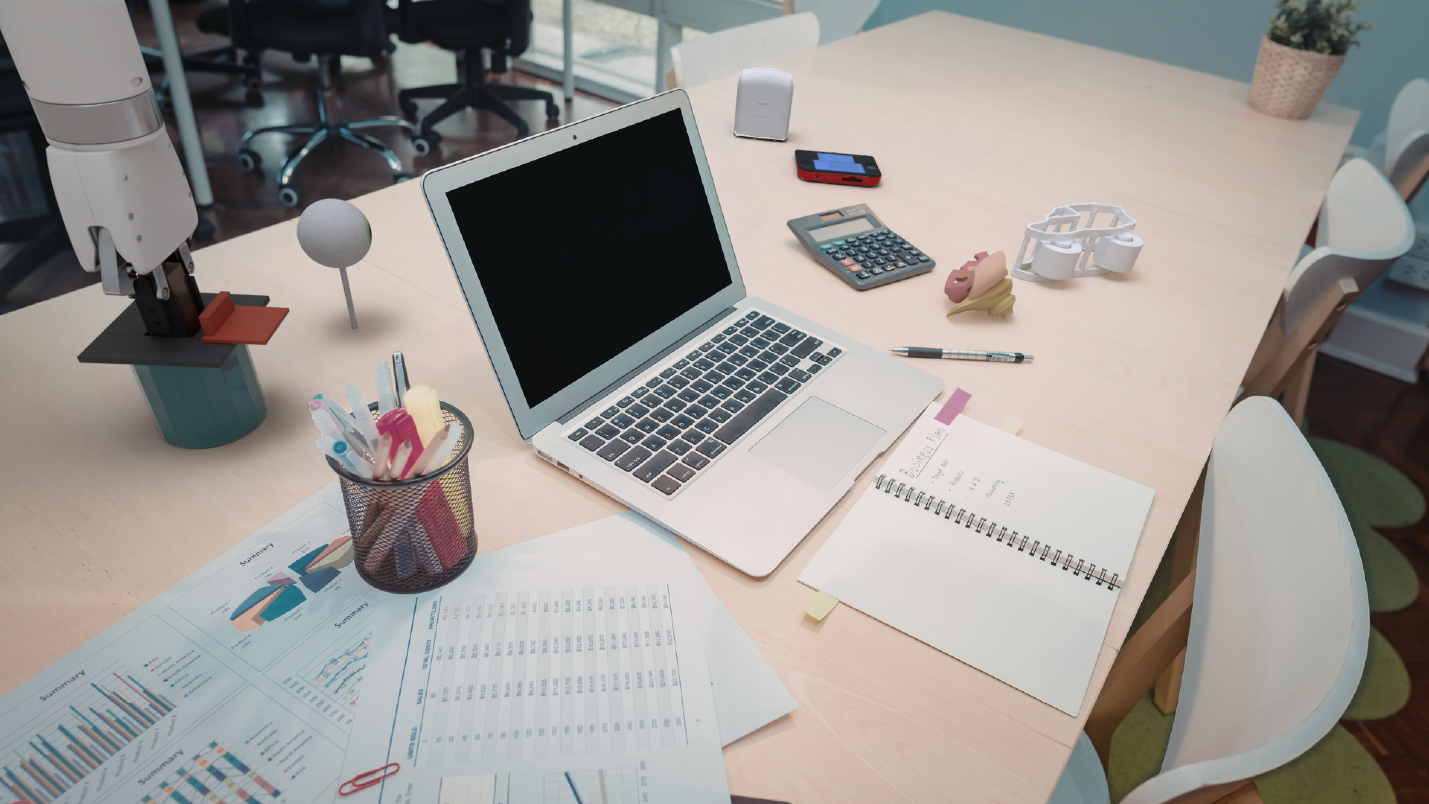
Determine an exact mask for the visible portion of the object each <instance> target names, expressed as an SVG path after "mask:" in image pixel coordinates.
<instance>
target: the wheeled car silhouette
mask: <svg viewBox="0 0 1429 804" xmlns="http://www.w3.org/2000/svg"><path fill="white" fill-rule="evenodd" d="M1082 212H1090V215H1089V216H1088V219H1087V222H1086V225H1085V227H1084V228H1078V229H1077V227H1078V224H1079V222H1080V219H1081V216H1082V214H1081V213H1082ZM1098 213H1100V214H1114V215H1113V217H1112V220H1111V222H1110V224H1109V227H1099V228H1098V227H1096V228H1095V227H1093V225H1094V222H1095V220H1096V217H1097V214H1098ZM1119 220H1120V222H1122V225H1119V226H1117V225H1118V223H1119ZM1137 223H1138V220H1136V219H1135V218H1133V217H1131V216H1130V215H1129V213H1127V212H1126V211H1125V208H1124V207H1123V206H1120V205H1116V204H1103V203H1101V202H1081V203H1069V204H1068V203H1067V204H1062V205H1061V206H1055V207H1052V208H1051V210H1050V211H1049V212H1047V213H1046V214H1045V215H1044V218H1043V220H1041V221H1034V222H1029V223H1028V224H1027V225H1026V226H1025V230H1024V233H1023V234H1024V237H1023V241H1022V243H1021V246H1020V248H1019V251H1018V255H1017V257H1016V261H1015V263H1014V264H1013V267H1012V269H1011V272H1010V275H1011V276H1012V277H1014V278H1017V279H1020V280H1023V281H1025V282H1031V283H1032V282H1033V283H1049V282H1056V281H1064V280H1065V281H1066V280H1069V279H1070V278H1084V277H1097V276H1102V275H1105V274H1107V273H1109V272H1114V273H1128V272H1131V271H1132V270H1133V268H1134V267H1135V264H1136V262H1137V259H1138V257H1139V255H1140V253H1141V250H1142V248H1143V247H1144V244H1145V241H1144V240H1143V238H1141V236H1139V235H1138V234H1135V233H1133V231H1134V230H1135V228H1136V226H1137ZM1067 224H1070V226H1069V229H1068V231H1065V232H1060V231H1061V228H1062V226H1063V225H1067ZM1049 226H1054V229H1053V232H1051V231H1050V232H1049V231H1047V229H1048V227H1049ZM1092 227H1093V228H1092ZM1088 238H1089V239H1088ZM1097 238H1099V240H1098V242H1096V241H1097ZM1031 239H1035V240H1036V241H1035V243H1034V246H1033V249H1032V252H1031V255H1030V257H1029V260H1028V261H1024V257H1025V255H1026V252H1027V249H1028V248H1029V247H1028V246H1029V243H1030V242H1031V241H1030V240H1031ZM1077 239H1080V240H1077ZM1087 239H1088V242H1087ZM1082 251H1084V253H1083V254H1082ZM1092 252H1093V254H1092V256H1091V253H1092ZM1081 254H1082V257H1081V260H1080V261H1079V259H1080V256H1081ZM1090 256H1091V260H1092V262H1093V263H1094V264H1095V265H1097V267H1086V265H1087V263H1088V260H1089V258H1090ZM1023 261H1024V262H1023ZM1078 261H1079V265H1078V267H1077V268H1076V266H1077V264H1078ZM1030 269H1031V270H1032V271H1033V272H1031V271H1028V270H1030Z"/></svg>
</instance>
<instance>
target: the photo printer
mask: <svg viewBox="0 0 1429 804" xmlns="http://www.w3.org/2000/svg"><path fill="white" fill-rule="evenodd" d="M794 85H795V84H794V81H793V75H792V74H790V73H788V72H787V71H784V70H780V69H776V68H773V67H751V68H746V69H743V70H741V73H740V76H739V78H738V82H737V89H736V97H735V98H736V100H735V111H734V123H733V124H734V125H733V132H734V131H736V133H738V134H744V135H750V136H755V137H769V138H775V139H785V138H786V137H789V129H790V122H791V114H792V106H793V96H794V90H795V86H794Z"/></svg>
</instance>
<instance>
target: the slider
mask: <svg viewBox="0 0 1429 804" xmlns="http://www.w3.org/2000/svg"><path fill="white" fill-rule="evenodd" d="M218 293H219V294H218V295H217V296H216V297H215V298H214V299H213V301H212V302H211V303H210V304H209V305H208V306H207V307H206V309H205V310H204V311H203V312H202V313H201V314H200V316H199V317H198V318H199V321H200V323H201V326H202V329H203V332H204V334H205V335H204V336H203V337H202V342H203V343H227V344H248V345H252V346H253V345H254V346H267V344H268V343H269V342H270V340H271V339H272V337H273V336H274V334H275V333H276V332H277V330H278V329H279V327H280V326H281V325H282V323H283V322H284V321H285V319H286V317H287V316H288V314H289V313H290V311H291V310H290V308H289V307H281V306H280V307H279V306H266V307H261V306H239V305H234V304H233V300H232V297H231V294H232V293H231V292H230V291H229V290H228V291H226V290H220V291H219V292H218Z"/></svg>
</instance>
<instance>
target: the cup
mask: <svg viewBox="0 0 1429 804" xmlns="http://www.w3.org/2000/svg"><path fill="white" fill-rule="evenodd" d="M129 368H130V370H131V372H132V375H133V377H134V379H135V382H136V383H137V387H138V388H139V391H140V393H141V395H142V398H143V400H144V402H145V404H146V407H147V409H148V411H149V414H150V416H151V419H152V421H153V423H154V425H155V428H156V430H157V432H158V433H159V435H160V436H161V438H162V440H164V441H165V442H167V443H168V444H169V445H171V446H174V447H178V448H182V449H190V450H201V449H210V448H216V447H220V446H223V445H224V446H225V445H228V444H230V443H232V442H235V441H238V440H240V439H241V438H244V437H246V436H247V435H249V434H251V433H252V432H253V431H254V430H255V429H257V428H258V427H259V426H260V425H261V424H262V422H263V421H264V419H265V417H266V414H267V410H268V409H267V404H266V398H265V395H264V392H263V389H262V385H261V382H260V379H259V376H258V372H257V370H256V366H255V363H254V360H253V357H252V354H251V351H250V348H249V344H237V346H236V347H235V348H234V350H233V351H232V352H231V354H230V355H229V356H228V358H227V359H226V360H225V362H224V363H223V364H222V366H221V367H220V368H205V367H179V366H153V365H129Z"/></svg>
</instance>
